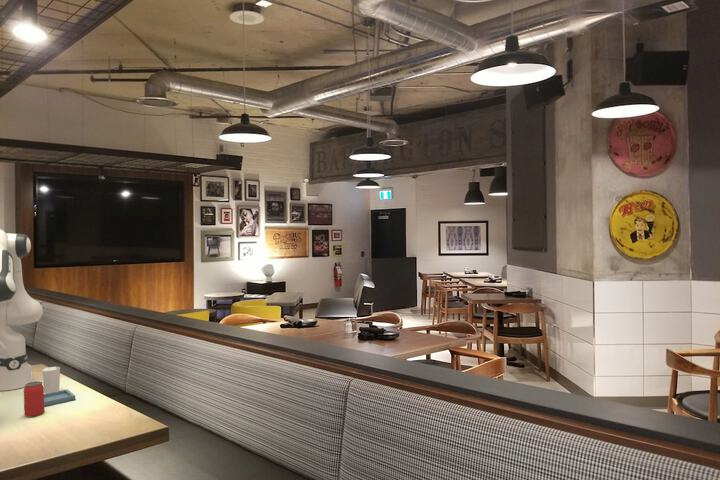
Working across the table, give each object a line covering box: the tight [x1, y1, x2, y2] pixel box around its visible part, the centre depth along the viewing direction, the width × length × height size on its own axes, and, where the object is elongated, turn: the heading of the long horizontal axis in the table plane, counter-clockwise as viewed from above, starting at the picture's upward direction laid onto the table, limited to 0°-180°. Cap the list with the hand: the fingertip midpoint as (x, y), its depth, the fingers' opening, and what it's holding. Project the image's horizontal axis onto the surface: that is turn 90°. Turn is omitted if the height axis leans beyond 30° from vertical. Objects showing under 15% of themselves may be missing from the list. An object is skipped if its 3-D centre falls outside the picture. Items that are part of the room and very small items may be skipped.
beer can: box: [23, 381, 45, 418], centre depth 199 cm, size 7×7×12 cm
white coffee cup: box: [41, 366, 61, 394], centre depth 228 cm, size 7×7×10 cm
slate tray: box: [44, 388, 76, 408], centre depth 216 cm, size 12×12×2 cm
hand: (3, 352), depth 197 cm, fingers open, 8 cm apart
